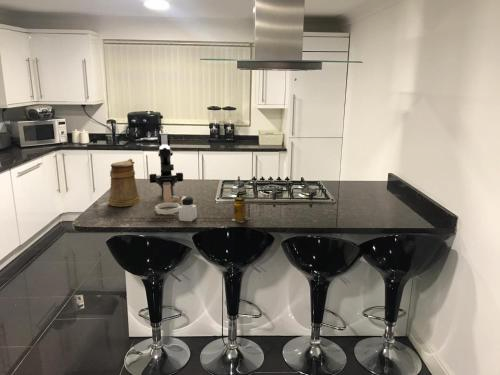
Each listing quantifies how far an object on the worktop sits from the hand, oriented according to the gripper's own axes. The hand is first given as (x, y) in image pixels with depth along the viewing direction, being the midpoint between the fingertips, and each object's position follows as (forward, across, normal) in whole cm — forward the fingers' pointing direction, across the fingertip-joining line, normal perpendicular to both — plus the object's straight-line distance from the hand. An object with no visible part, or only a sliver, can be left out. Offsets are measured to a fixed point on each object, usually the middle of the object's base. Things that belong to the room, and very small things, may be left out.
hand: (167, 190), depth 238 cm
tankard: (-8, -25, +27) cm, 37 cm away
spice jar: (+4, 0, +6) cm, 7 cm away
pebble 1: (-5, +4, +21) cm, 22 cm away
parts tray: (-3, +6, +21) cm, 22 cm away
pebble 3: (-4, +10, +20) cm, 23 cm away
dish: (+8, 0, +10) cm, 13 cm away
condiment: (+24, +38, -6) cm, 45 cm away
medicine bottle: (+19, +10, -1) cm, 22 cm away
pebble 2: (-3, +6, +19) cm, 20 cm away
